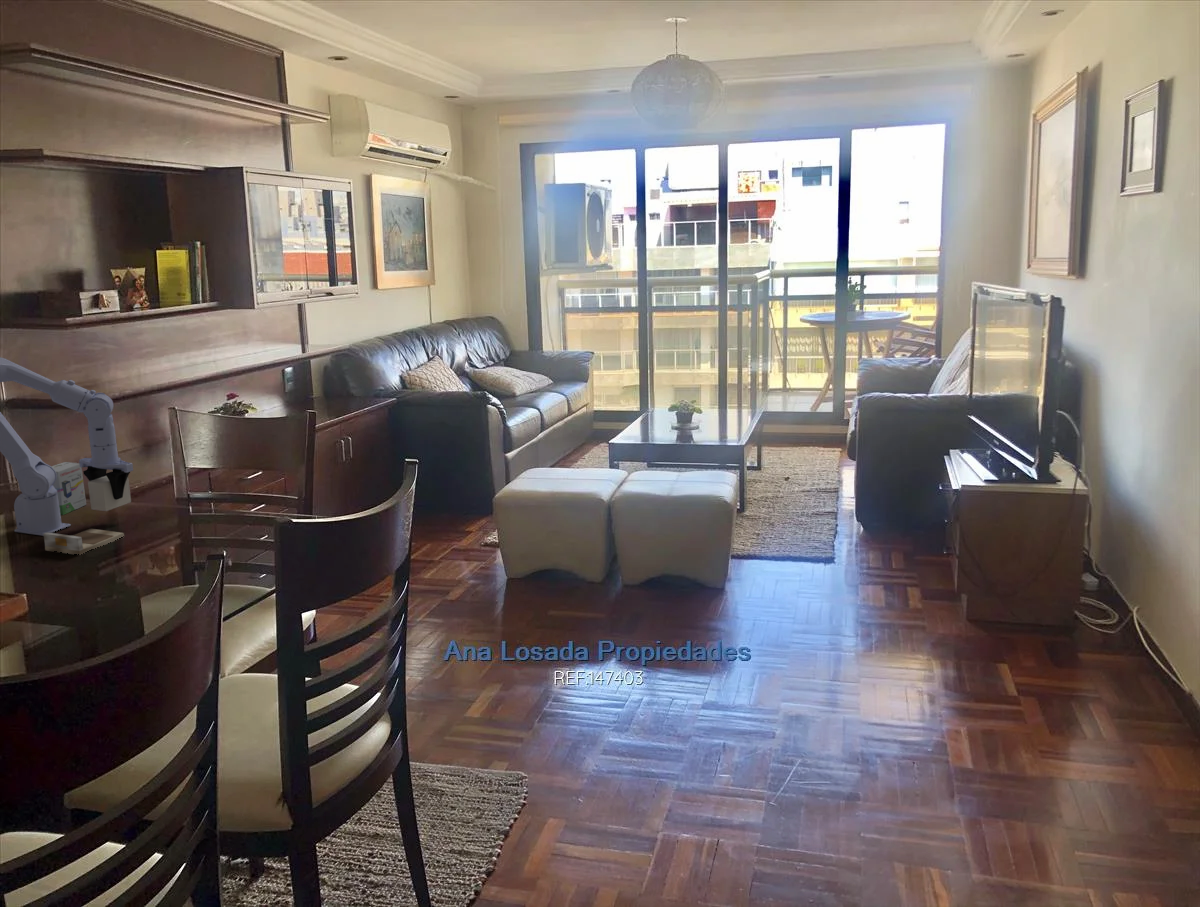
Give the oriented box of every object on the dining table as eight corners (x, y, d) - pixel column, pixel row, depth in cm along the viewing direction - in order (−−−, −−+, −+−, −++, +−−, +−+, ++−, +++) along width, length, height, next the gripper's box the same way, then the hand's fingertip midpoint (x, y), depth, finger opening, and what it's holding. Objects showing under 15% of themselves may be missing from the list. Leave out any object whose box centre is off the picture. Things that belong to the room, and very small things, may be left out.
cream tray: (45, 550, 215) (42, 533, 214) (91, 532, 227) (88, 516, 226) (79, 555, 212) (77, 538, 211) (124, 536, 224) (122, 521, 223)
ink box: (70, 504, 249) (64, 461, 246) (87, 505, 248) (81, 462, 245) (46, 514, 241) (39, 469, 238) (63, 515, 240) (57, 470, 237)
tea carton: (90, 509, 230) (87, 481, 228) (116, 500, 237) (112, 473, 235) (106, 511, 228) (102, 483, 226) (131, 502, 236) (128, 475, 234)
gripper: (139, 442, 230) (145, 495, 234) (92, 437, 234) (99, 490, 238) (117, 449, 224) (124, 503, 227) (69, 444, 228) (76, 497, 231)
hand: (110, 497), depth 232 cm, fingers closed on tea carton, 5 cm apart
